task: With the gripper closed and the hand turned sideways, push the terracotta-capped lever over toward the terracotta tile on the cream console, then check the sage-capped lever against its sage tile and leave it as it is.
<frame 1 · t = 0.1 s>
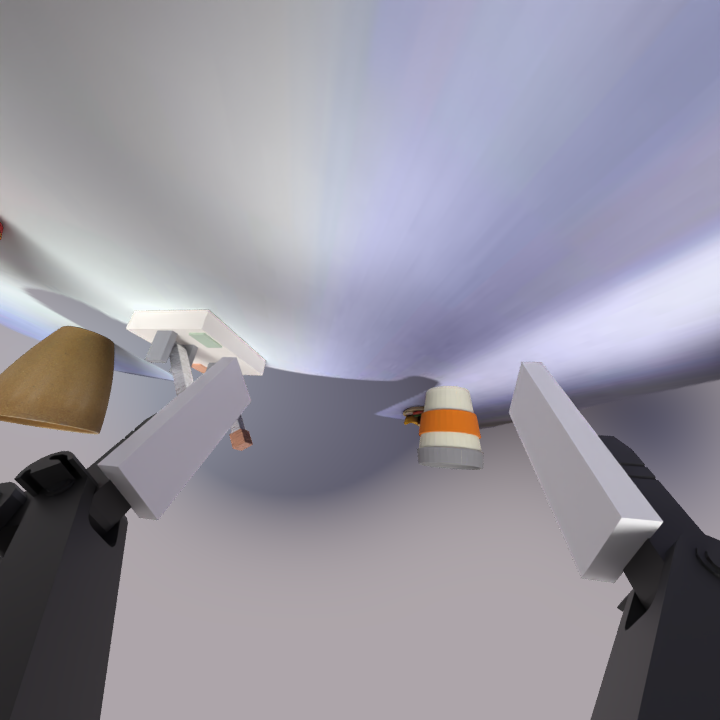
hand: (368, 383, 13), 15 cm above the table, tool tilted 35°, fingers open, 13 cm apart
lever 2: (184, 384, 37), point 10 cm above the table, hinge at -32.0°
lever 1: (231, 406, 47), point 10 cm above the table, hinge at -32.0°
plant pot: (87, 334, 50), on the table
console: (209, 339, 47), on the table
toy sandwich meal: (428, 410, 78), on the table
reusable coffee cup: (447, 391, 61), on the table
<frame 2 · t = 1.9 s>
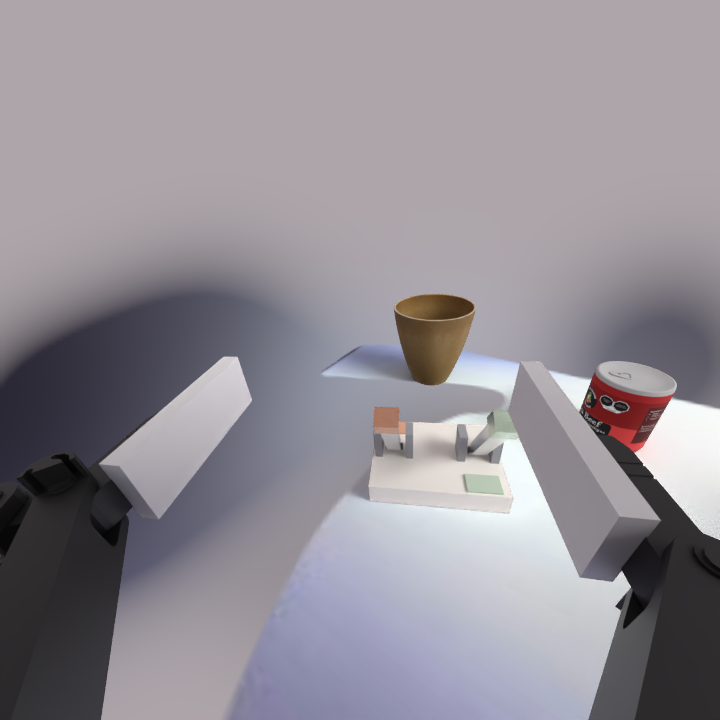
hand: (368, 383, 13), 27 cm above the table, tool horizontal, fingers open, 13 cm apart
canned food: (605, 436, 43), on the table
lever 2: (489, 439, 32), point 10 cm above the table, hinge at -32.0°
lever 1: (391, 434, 34), point 10 cm above the table, hinge at -32.0°
plant pot: (430, 376, 61), on the table
console: (433, 467, 41), on the table
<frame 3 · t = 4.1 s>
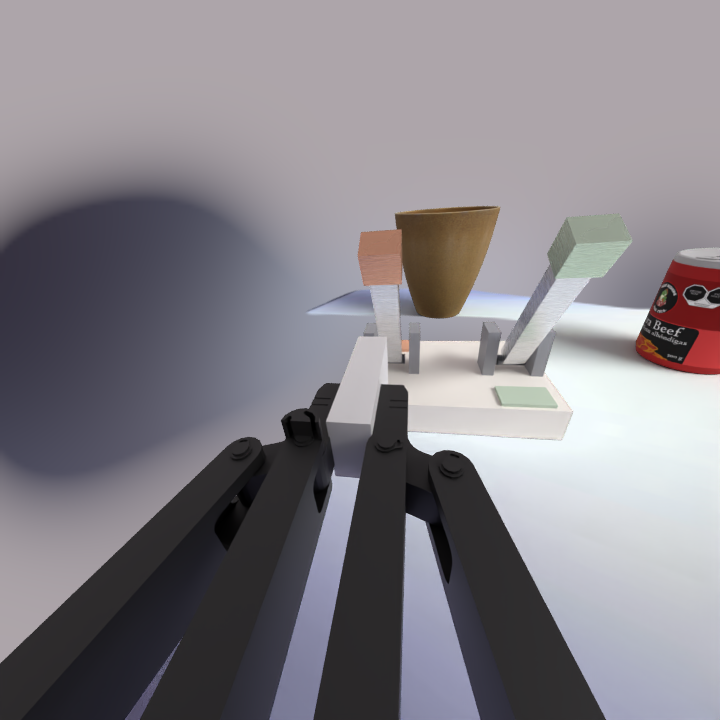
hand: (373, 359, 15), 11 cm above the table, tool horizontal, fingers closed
canned food: (679, 359, 32), on the table
lever 2: (539, 316, 20), point 10 cm above the table, hinge at -32.0°
lever 1: (388, 318, 22), point 10 cm above the table, hinge at -32.0°
plant pot: (439, 312, 50), on the table
console: (446, 392, 29), on the table
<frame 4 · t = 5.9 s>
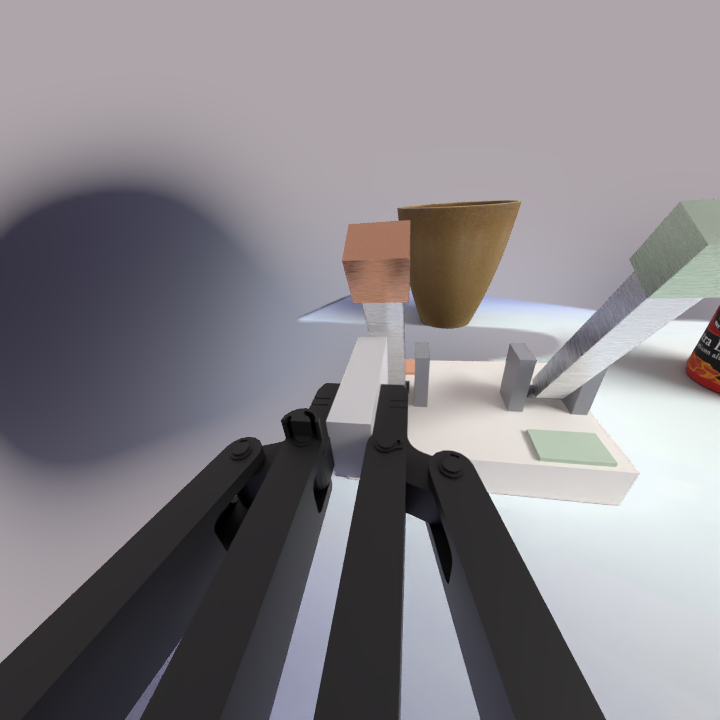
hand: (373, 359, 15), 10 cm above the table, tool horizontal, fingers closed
lever 2: (597, 344, 15), point 10 cm above the table, hinge at -32.0°
lever 1: (389, 342, 17), point 10 cm above the table, hinge at -31.9°, touching gripper
plant pot: (446, 320, 44), on the table
console: (460, 427, 24), on the table
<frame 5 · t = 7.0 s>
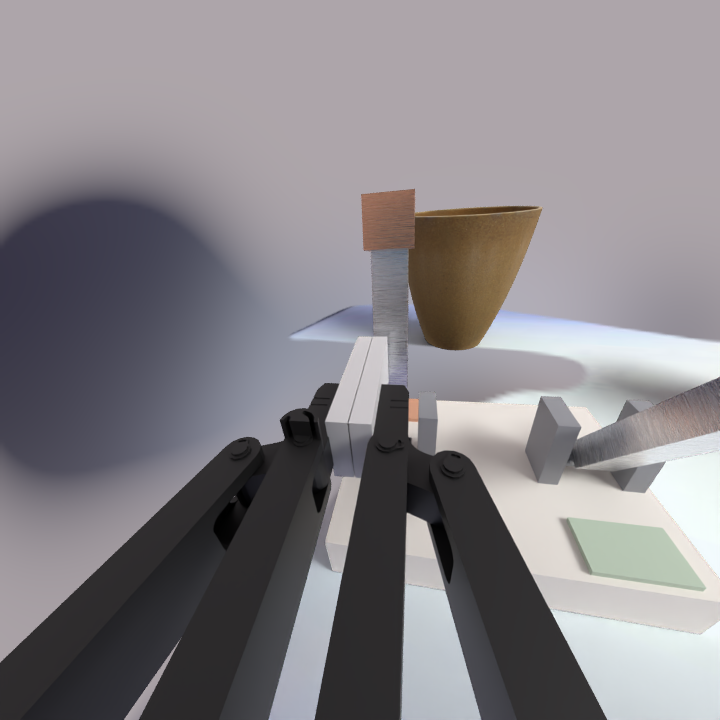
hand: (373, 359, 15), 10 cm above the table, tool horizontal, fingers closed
lever 2: (684, 427, 10), point 10 cm above the table, hinge at -32.0°
lever 1: (391, 342, 16), point 11 cm above the table, hinge at 10.5°, touching gripper
plant pot: (453, 339, 39), on the table
console: (474, 491, 19), on the table
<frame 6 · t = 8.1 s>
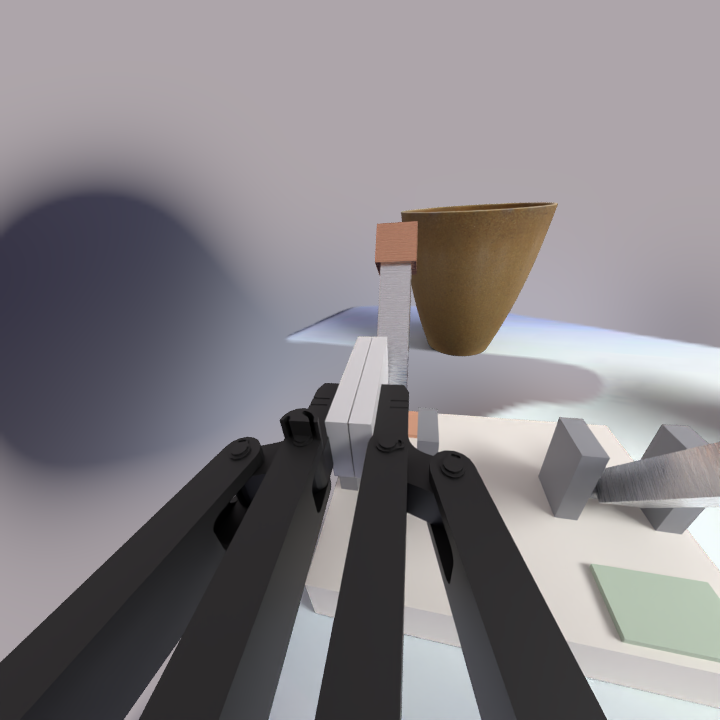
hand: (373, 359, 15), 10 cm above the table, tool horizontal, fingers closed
lever 1: (393, 347, 17), point 10 cm above the table, hinge at 36.0°, touching gripper
plant pot: (458, 344, 37), on the table
console: (480, 519, 17), on the table
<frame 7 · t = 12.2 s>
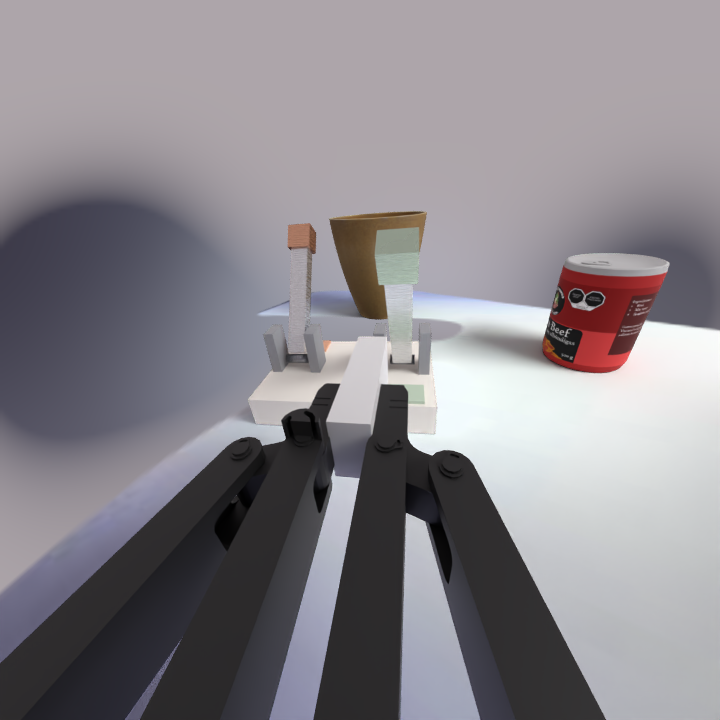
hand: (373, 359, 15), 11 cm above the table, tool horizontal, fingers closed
canned food: (579, 358, 33), on the table
lever 2: (400, 318, 22), point 10 cm above the table, hinge at -32.0°
lever 1: (300, 295, 30), point 10 cm above the table, hinge at 33.3°
plant pot: (381, 313, 51), on the table
console: (352, 390, 31), on the table
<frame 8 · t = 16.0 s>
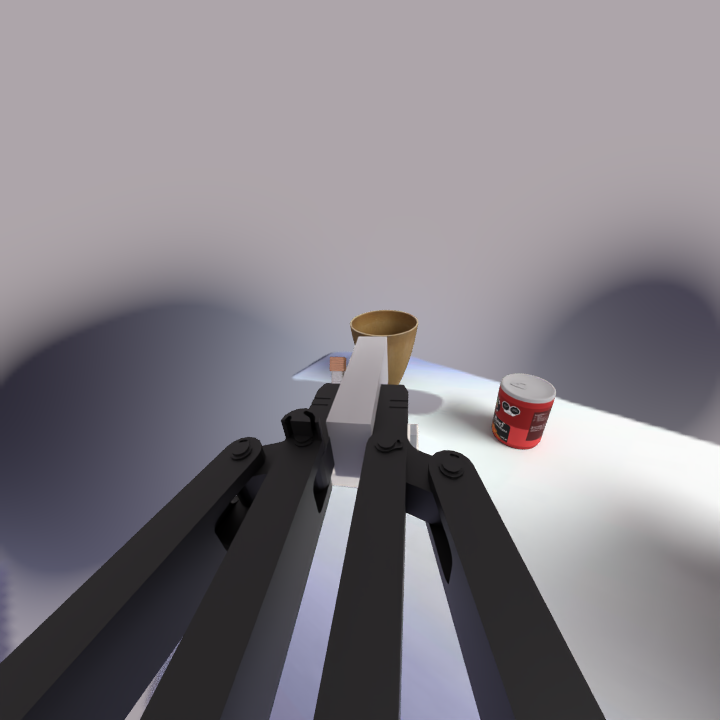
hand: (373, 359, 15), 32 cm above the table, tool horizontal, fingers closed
canned food: (514, 435, 52), on the table
lever 1: (337, 399, 49), point 10 cm above the table, hinge at 33.3°
plant pot: (385, 381, 70), on the table
console: (368, 458, 49), on the table
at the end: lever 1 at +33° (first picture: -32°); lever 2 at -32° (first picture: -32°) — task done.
